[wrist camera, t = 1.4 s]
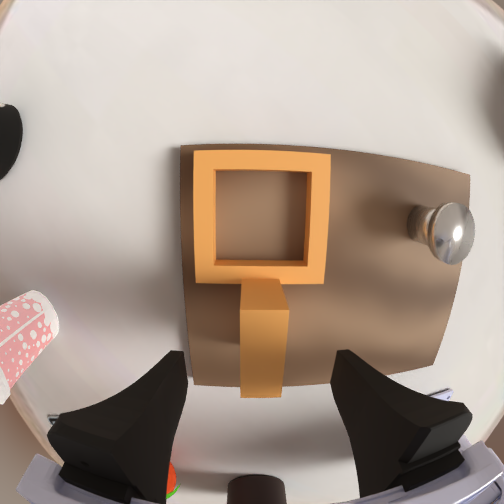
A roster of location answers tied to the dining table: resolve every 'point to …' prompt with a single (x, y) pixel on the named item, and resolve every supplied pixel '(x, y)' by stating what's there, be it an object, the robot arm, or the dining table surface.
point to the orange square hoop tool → (261, 271)
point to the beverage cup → (23, 335)
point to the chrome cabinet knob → (443, 230)
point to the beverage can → (9, 137)
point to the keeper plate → (336, 268)
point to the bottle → (256, 490)
